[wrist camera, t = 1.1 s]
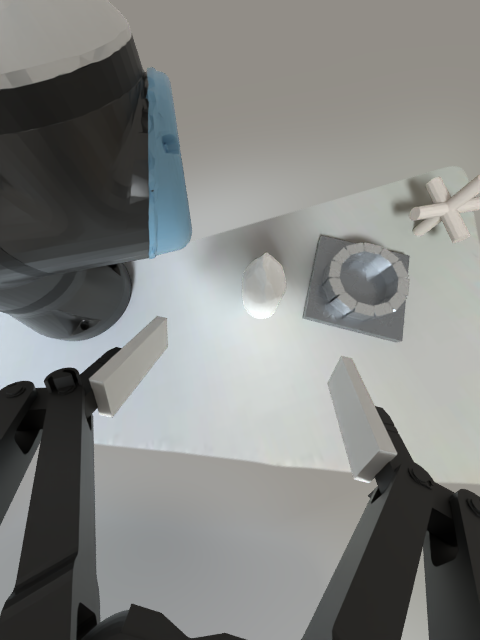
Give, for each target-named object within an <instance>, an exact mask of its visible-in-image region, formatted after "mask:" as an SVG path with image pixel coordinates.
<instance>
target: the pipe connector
mask: <svg viewBox="0 0 480 640" xmlns="http://www.w3.org/2000/svg"><path fill="white" fill-rule="evenodd" d="M426 188H427V190H428V192H429V195H430V197H431V199H432V201H433V203H434V204H430V205H424V206H418V207H414V208H412V210H411V211H410V214H409V217H410V219H411V220H413V221H415V220H421V219H425V220H423V221H422V222H421V223H420V224H419V225H417V226H416V227H415V228H414V229H413V233H414V234H415V235H416V236H422V235H424V234H425V233H426V232H428V231H429V230H430V229H432V228H433V227H434V226H436V225H437V224H438V223H440V222H441V221H442V222H443V224H444V226H445V228H446V230H447V232H448V234H449V236H450V238H451V240H452V242H453V243H456V242H460V241H462V240H464V239H466V238H468V237H469V236H470V233H469V231H468V229H467V227H466V225H465V223H464V221H463V219H462V218H461V216H460V214H459V213H464V212H470V211H476V210H480V197H474V196H476V195H477V194H479V193H480V174H479V175H478V176H477V177H475V178H474V179H473V180H472V181H471V182H469V183H468V184H467V185H466V186H464V187H463V188H462V189H461V190H460V191H458V192H457V193H456V194H455V195H454V196H452V197H451V196H450V194H449V192H448V190H447V188H446V186H445V184H444V182H443V180H442V178H441V177H436V178H434V179H432V180H430V181H429V182H428V183H427V184H426ZM473 197H474V198H473Z"/></svg>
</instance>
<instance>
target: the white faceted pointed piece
mask: <svg viewBox="0 0 480 640" xmlns="http://www.w3.org/2000/svg"><path fill="white" fill-rule="evenodd" d="M285 290H286V278H285V274H284V270H283V267H282V265H281V264H280V263H279V262H278V261H277V260H276V259H275V258H274V257H273V256H271V255H269V254H268V253H267V252H266V253H264V254H263V255H262V256H261V257H260V258H256V259H255V260H253V261H252V262H251V264H250V265H249V266H248V267H247V268H246V269H245V271H244V273H243V276H242V299H243V305H244V307H245V309H246V311H247V312H248V313H249V314H250V315H251V316H253V317H255V318H259V319H265V318H268V317H270V316H271V315H273V314H274V312H275V311H276V309H277V307H278V305H279V303H280V301H281V299H282V297H283V295H284V293H285Z"/></svg>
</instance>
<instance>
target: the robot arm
mask: <svg viewBox="0 0 480 640" xmlns="http://www.w3.org/2000/svg"><path fill="white" fill-rule="evenodd" d="M191 235H192V227H191V219H190V212H189V206H188V198H187V192H186V185H185V179H184V172H183V166H182V159H181V153H180V145H179V138H178V132H177V125H176V117H175V110H174V103H173V97H172V91H171V84H170V81H169V78H168V77H167V75H166V74H165V73H163V72H159V71H156V70H155V68H153V67H152V68H147V72H144V70H143V68H142V65H141V62H140V59H139V56H138V52H137V49H136V46H135V43H134V40H133V36H132V33H131V30H130V27H129V24H128V21H127V20H126V18H125V17H124V16H123V15H122V14H121V13H120V12H119V11H118V10H117V9H116V8H115V7H114V6H113V5H112V4H111V2H109V0H0V312H3V313H7V314H9V315H10V316H12V317H14V318H15V319H17V320H18V321H20V322H22V323H23V324H25V325H26V326H28V327H30V328H31V329H33V330H34V331H36V332H38V333H39V334H42V335H44V336H47V337H50V338H55V339H60V340H66V341H80V340H86V339H89V338H92V337H95V336H97V335H99V334H101V333H103V332H104V331H106V330H107V329H109V328H110V327H111V326H112V325H113V324H115V322H116V321H117V320H118V319H119V318H120V317H121V315H122V314H123V312H124V311H125V309H126V307H127V304H128V302H129V299H130V294H131V281H130V276H129V273H128V271H127V269H126V267H125V266H124V265H123V262H129V261H135V260H140V259H146V258H150V259H153V258H155V257H156V255H160V254H164V253H168V252H172V251H176V250H180V249H182V248H184V247H185V246H186V245H187V244H188V242H189V241H190V239H191ZM167 347H168V341H167V318H164V317H159V316H157V317H156V318H155V319H154V320H152V321H151V322H150V323H149V324H148V325H147V326H146V327H145V328H144V329H143V330H142V331H140V332H139V333H138V334H137V335H136V336H135V337H134V338H133V339H132V340H131V341H130V342H128V343H127V344H126V345H125V346H124V347H123V348H118V347H115V348H113V349H111V350H109V351H107V352H106V353H105V354H104V355H102V356H101V358H99V359H98V360H97V361H96V362H94V363H93V364H92V365H91V366H90V367H88V368H87V369H86V370H85V371H84V372H83V373H81V374H80V375H79V372H78V370H77V369H75V368H62V369H59V370H56V371H54V372H52V373H50V374H49V375H48V376H47V377H46V378H45V380H44V383H45V385H46V388H35V386H34V384H33V383H32V382H30V381H20V382H15V383H13V384H10V385H8V386H6V387H4V388H3V389H1V390H0V524H1V523H2V520H3V518H4V516H5V514H6V512H7V510H8V508H9V506H10V504H11V502H12V500H13V498H14V495H15V493H16V491H17V489H18V487H19V485H20V483H21V481H22V479H23V477H24V474H25V472H26V470H27V468H28V466H29V464H30V462H31V460H32V458H33V456H34V454H35V452H36V450H37V447H38V445H39V443H40V441H41V443H40V449H39V455H38V460H37V466H36V472H35V477H34V483H33V489H32V494H31V500H30V506H29V511H28V517H27V523H26V529H25V534H24V540H23V546H22V551H21V557H20V563H19V568H18V574H17V580H16V584H15V588H14V590H13V592H12V594H11V595H10V596H9V598H8V599H7V600H6V602H5V604H4V607H3V609H2V612H1V616H0V640H246V639H242V638H239V637H236V636H233V635H230V634H227V633H222V634H216V635H210V636H204V637H198V638H189V637H187V636H186V635H185V634H184V633H183V632H182V631H180V630H179V629H178V628H177V627H176V626H175V625H174V624H173V623H172V622H171V621H170V620H168V619H167V618H166V617H165V616H164V615H163V614H162V613H160V612H156V611H154V610H150V609H147V608H144V607H141V606H137V605H135V604H131V607H130V609H129V610H126V611H122V612H119V613H116V614H114V615H112V616H110V617H108V618H107V619H105V620H104V621H102V622H101V623H100V598H99V588H98V582H97V575H96V537H95V491H94V490H95V489H94V437H93V415H92V413H93V412H94V411H95V410H96V409H97V408H98V411H99V415H103V416H107V417H111V418H113V416H114V415H115V414H116V413H117V411H118V410H119V409H120V407H121V406H122V405H123V404H124V402H125V401H126V400H127V398H128V397H129V396H130V395H131V393H132V392H133V391H134V389H135V388H136V387H137V386H138V384H139V383H140V382H141V380H142V379H143V378H144V377H145V375H146V374H147V373H148V371H149V370H150V369H151V368H152V366H153V365H154V364H155V363H156V361H157V360H158V359H159V357H160V356H161V355H162V354H163V352H164V351H165V350H166V348H167ZM328 387H329V391H330V394H331V398H332V402H333V405H334V409H335V412H336V416H337V420H338V423H339V427H340V431H341V434H342V438H343V442H344V445H345V449H346V453H347V456H348V460H349V464H350V467H351V471H352V474H353V478H354V479H355V480H359V481H363V482H367V483H370V482H371V481H372V480H373V479H374V478H375V479H376V482H377V485H378V487H376V488H375V489H374V491H372V492H371V493H370V494H369V495H368V496H369V497H370V500H369V502H368V504H367V507H366V508H365V511H364V513H363V515H362V517H361V519H360V521H359V523H358V525H357V527H356V529H355V531H354V533H353V535H352V537H351V539H350V542H349V544H348V545H347V548H346V550H345V552H344V554H343V556H342V558H341V560H340V562H339V564H338V566H337V568H336V570H335V572H334V574H333V576H332V578H331V580H330V582H329V585H328V587H327V589H326V591H325V593H324V595H323V597H322V599H321V601H320V603H319V605H318V607H317V609H316V612H315V613H314V616H313V617H312V620H311V622H310V624H309V626H308V628H307V630H306V632H305V634H304V636H303V638H302V639H301V640H401V636H402V632H403V628H404V623H405V619H406V615H407V610H408V607H409V602H410V598H411V594H412V590H413V585H414V581H415V576H416V573H417V568H418V564H419V560H420V556H421V552H422V547H423V552H424V568H425V583H426V598H427V614H428V630H429V640H480V497H479V496H477V495H476V494H475V493H473V492H470V491H468V490H466V489H460V490H459V491H457V492H456V493H454V492H452V491H450V490H448V489H447V488H445V487H443V486H441V485H439V484H437V483H435V482H434V481H433V479H432V478H431V476H430V475H429V474H428V472H427V471H425V470H424V469H423V468H422V467H421V466H419V465H418V464H416V463H414V461H413V460H412V458H411V456H410V454H409V452H408V450H407V448H406V446H405V444H404V443H403V441H402V439H401V437H400V435H399V434H398V431H397V429H396V427H394V424H393V422H392V420H391V418H390V416H389V415H388V414H387V413H386V412H385V411H384V409H383V408H381V407H376V406H374V404H373V401H372V399H371V397H370V395H369V393H368V391H367V389H366V387H365V385H364V383H363V381H362V378H361V376H360V374H359V372H358V370H357V368H356V366H355V364H354V362H353V360H352V358H348V357H343V356H341V357H340V359H339V361H338V363H337V365H336V367H335V369H334V371H333V373H332V375H331V377H330V379H329V381H328Z"/></svg>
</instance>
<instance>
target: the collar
mask: <svg viewBox="0 0 480 640" xmlns="http://www.w3.org/2000/svg"><path fill="white" fill-rule="evenodd" d="M408 267H409V256H408V255H404V254H400V253H395V252H391V251H389V250H387V249H386V248H383V249H382V246H379V245H375V244H370V243H366V242H364V243H362V242H361V243H357V244H356V243H352V242H347V241H343V240H339V239H334V238H330V237H326V236H321V237H320V239H319V241H318V246H317V251H316V256H315V261H314V266H313V271H312V275H311V280H310V285H309V290H308V295H307V300H306V305H305V310H304V314H303V318H304V319H308V320H311V321H315V322H319V323H323V324H327V325H331V326H335V327H339V328H343V329H346V330H350V331H354V332H358V333H362V334H366V335H370V336H374V337H378V338H382V339H385V340H389V341H393V342H400V341H402V337H403V325H404V313H405V302H406V299H407V297H406V296H408V291H409V279H407V278H408V277H409V275H408Z"/></svg>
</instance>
